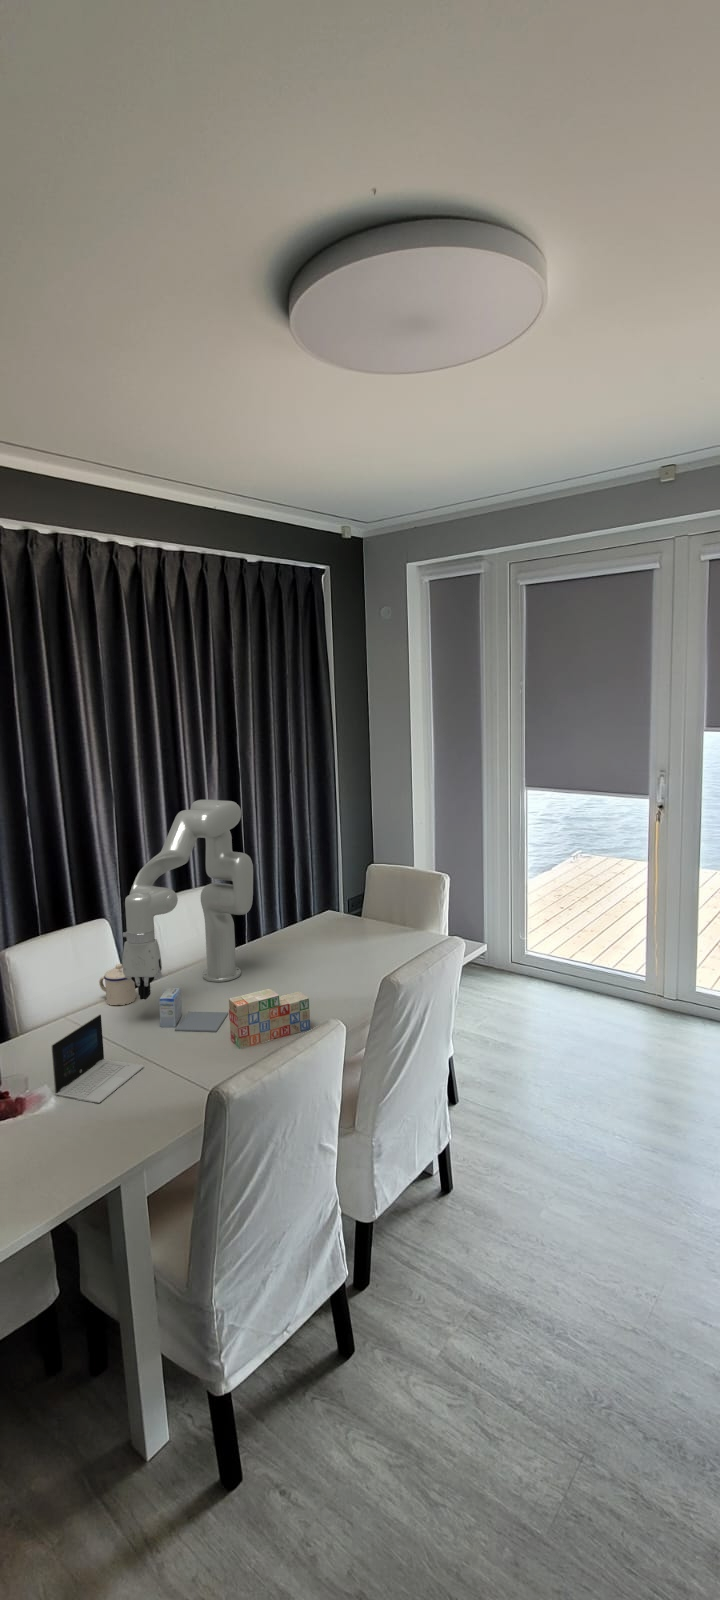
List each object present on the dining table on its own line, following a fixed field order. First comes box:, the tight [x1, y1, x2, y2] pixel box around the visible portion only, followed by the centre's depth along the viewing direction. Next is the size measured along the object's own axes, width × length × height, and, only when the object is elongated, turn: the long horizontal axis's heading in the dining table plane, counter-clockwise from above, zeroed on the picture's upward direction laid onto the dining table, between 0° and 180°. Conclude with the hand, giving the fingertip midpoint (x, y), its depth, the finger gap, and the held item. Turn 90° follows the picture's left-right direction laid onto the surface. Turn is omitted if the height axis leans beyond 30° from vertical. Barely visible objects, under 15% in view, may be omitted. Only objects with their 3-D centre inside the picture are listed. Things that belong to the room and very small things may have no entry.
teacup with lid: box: [98, 963, 137, 1006], centre depth 230 cm, size 12×9×12 cm
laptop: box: [51, 1014, 145, 1104], centre depth 181 cm, size 18×12×13 cm
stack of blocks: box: [228, 988, 311, 1050], centre depth 204 cm, size 21×6×12 cm, turn 121°
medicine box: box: [158, 987, 183, 1028], centre depth 214 cm, size 8×4×9 cm, turn 0°
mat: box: [174, 1010, 229, 1033], centre depth 214 cm, size 12×12×1 cm
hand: (144, 997), depth 214 cm, fingers closed
